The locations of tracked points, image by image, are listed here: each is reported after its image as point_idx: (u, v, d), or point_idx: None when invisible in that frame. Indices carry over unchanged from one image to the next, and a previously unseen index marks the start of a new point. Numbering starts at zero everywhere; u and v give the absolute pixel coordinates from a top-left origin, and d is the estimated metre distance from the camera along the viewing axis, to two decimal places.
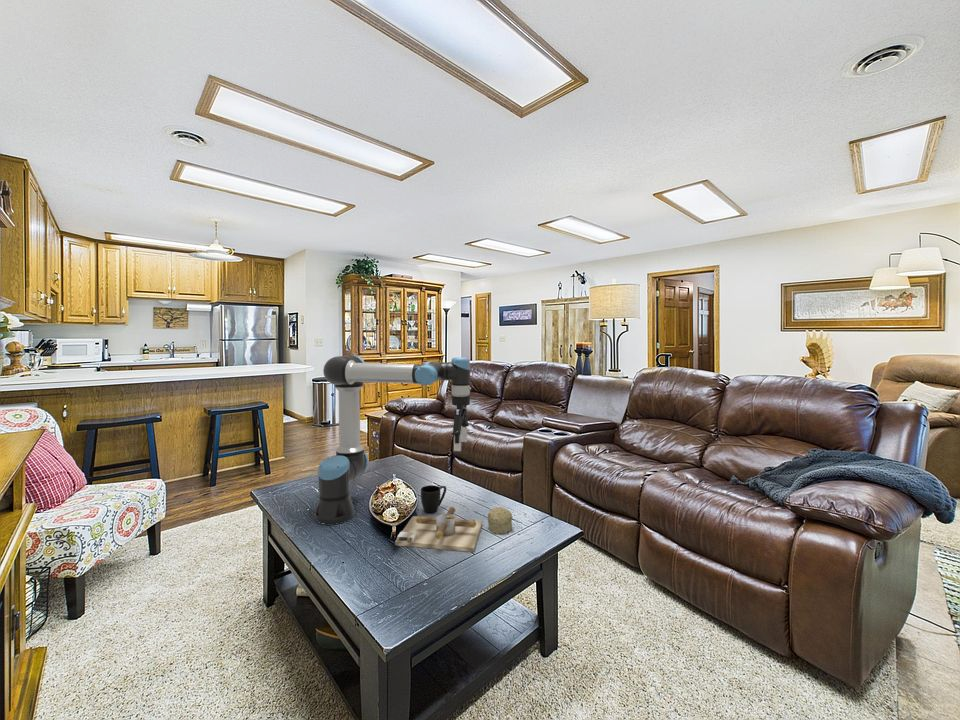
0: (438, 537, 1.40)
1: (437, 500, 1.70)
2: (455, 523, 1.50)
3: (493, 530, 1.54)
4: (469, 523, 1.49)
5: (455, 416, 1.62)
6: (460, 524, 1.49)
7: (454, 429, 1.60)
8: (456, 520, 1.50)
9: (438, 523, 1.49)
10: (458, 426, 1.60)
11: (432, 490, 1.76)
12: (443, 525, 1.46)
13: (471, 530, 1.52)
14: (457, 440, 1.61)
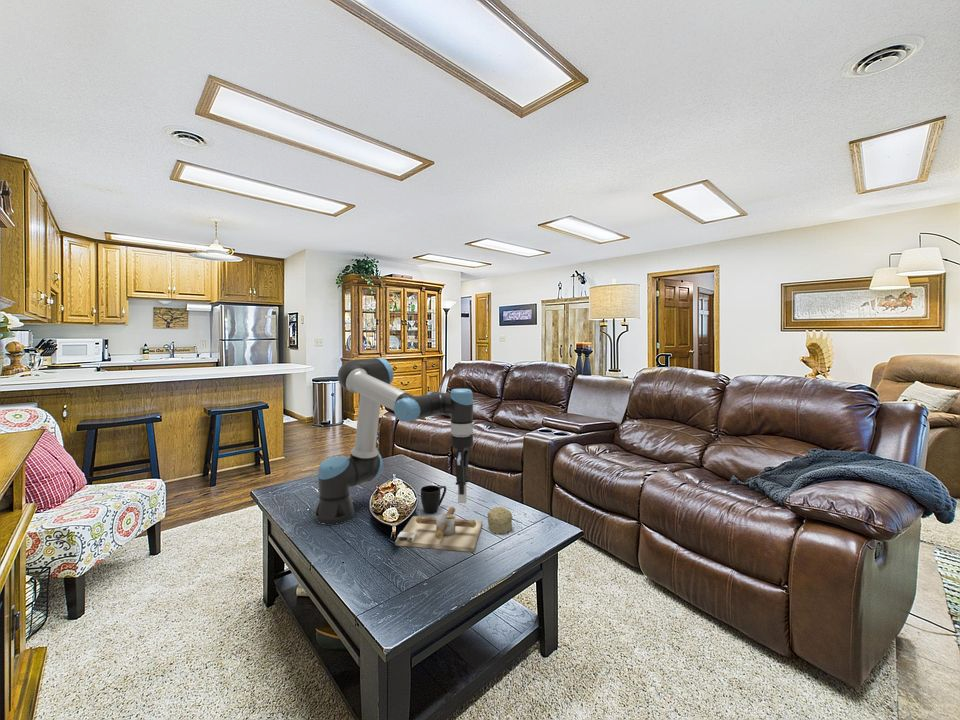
0: (438, 537, 1.40)
1: (437, 500, 1.70)
2: (455, 523, 1.50)
3: (493, 530, 1.54)
4: (469, 523, 1.49)
5: (456, 467, 1.35)
6: (460, 524, 1.49)
7: (458, 480, 1.37)
8: (456, 520, 1.50)
9: (438, 523, 1.49)
10: (462, 477, 1.36)
11: (432, 490, 1.76)
12: (443, 525, 1.46)
13: (471, 530, 1.52)
14: (462, 491, 1.39)
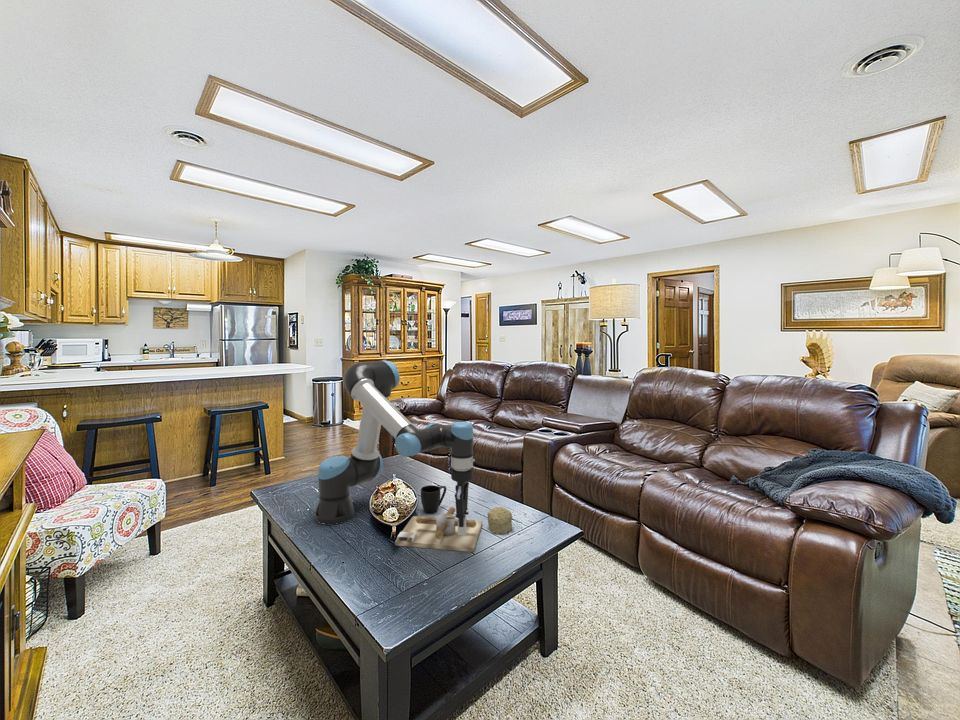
0: (438, 537, 1.40)
1: (437, 500, 1.70)
2: (455, 523, 1.50)
3: (493, 530, 1.54)
4: (469, 523, 1.49)
5: (456, 501, 1.37)
6: None
7: (457, 514, 1.38)
8: (456, 520, 1.50)
9: (438, 523, 1.49)
10: (461, 511, 1.38)
11: (432, 490, 1.76)
12: (443, 525, 1.46)
13: (471, 530, 1.52)
14: (461, 524, 1.41)
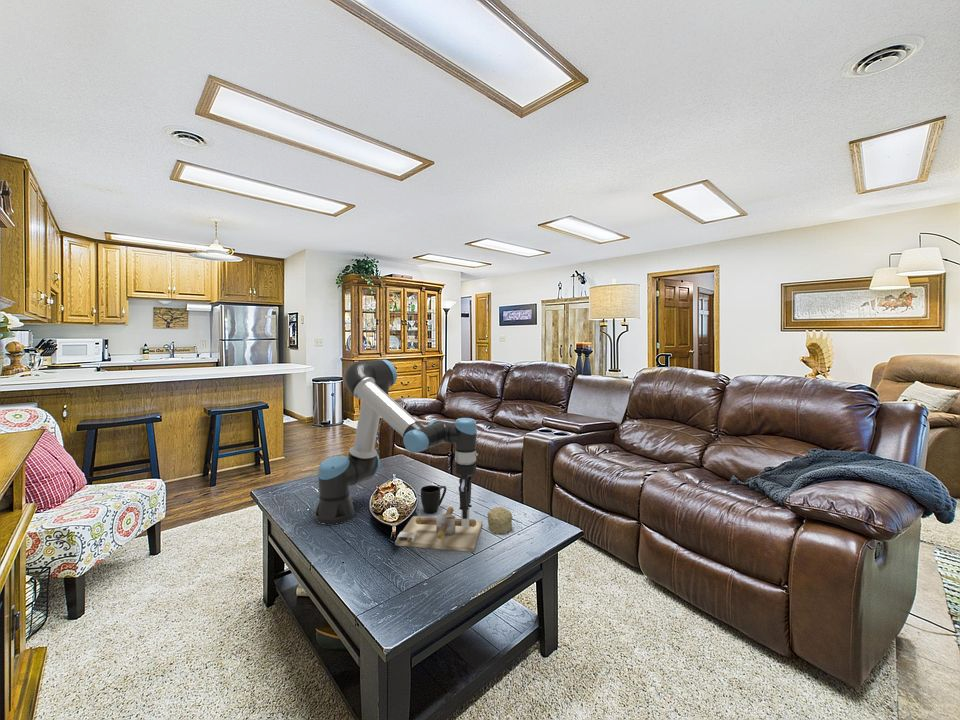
0: (440, 537, 1.40)
1: (437, 500, 1.70)
2: (455, 523, 1.50)
3: (493, 530, 1.54)
4: (469, 522, 1.49)
5: (460, 493, 1.43)
6: None
7: (461, 506, 1.45)
8: (456, 520, 1.51)
9: (438, 523, 1.49)
10: (465, 503, 1.44)
11: (432, 490, 1.76)
12: (444, 525, 1.46)
13: (471, 530, 1.52)
14: (465, 515, 1.47)
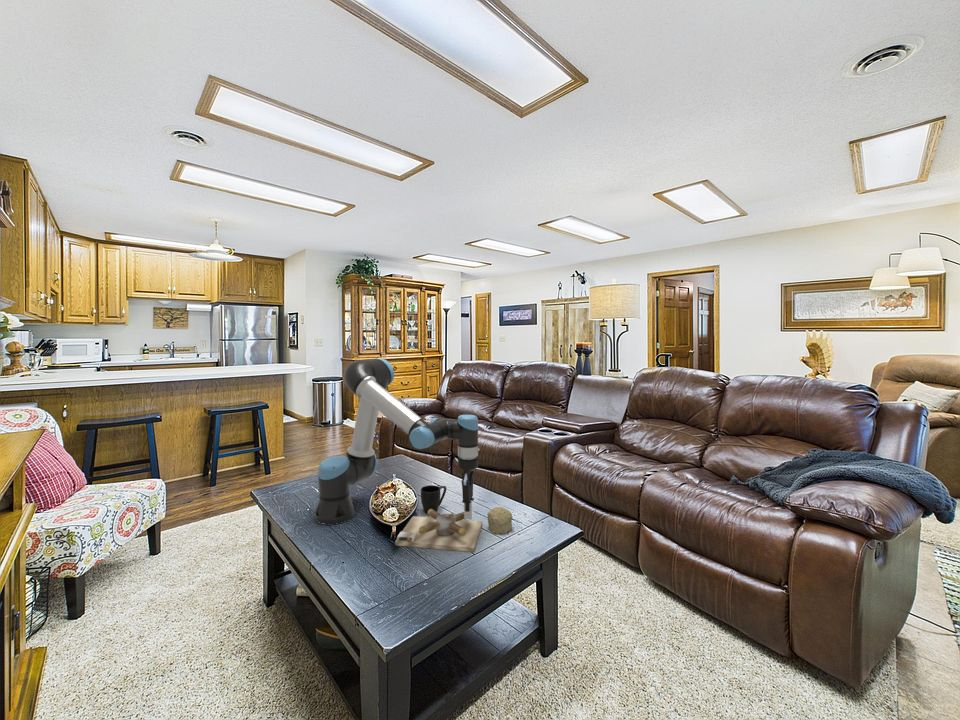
0: (464, 534, 1.43)
1: (437, 500, 1.70)
2: (455, 519, 1.53)
3: (493, 530, 1.54)
4: None
5: (463, 487, 1.49)
6: (459, 518, 1.54)
7: (464, 499, 1.50)
8: (455, 516, 1.54)
9: (445, 524, 1.48)
10: (468, 496, 1.50)
11: (432, 490, 1.76)
12: (454, 523, 1.48)
13: (471, 530, 1.52)
14: (467, 508, 1.53)
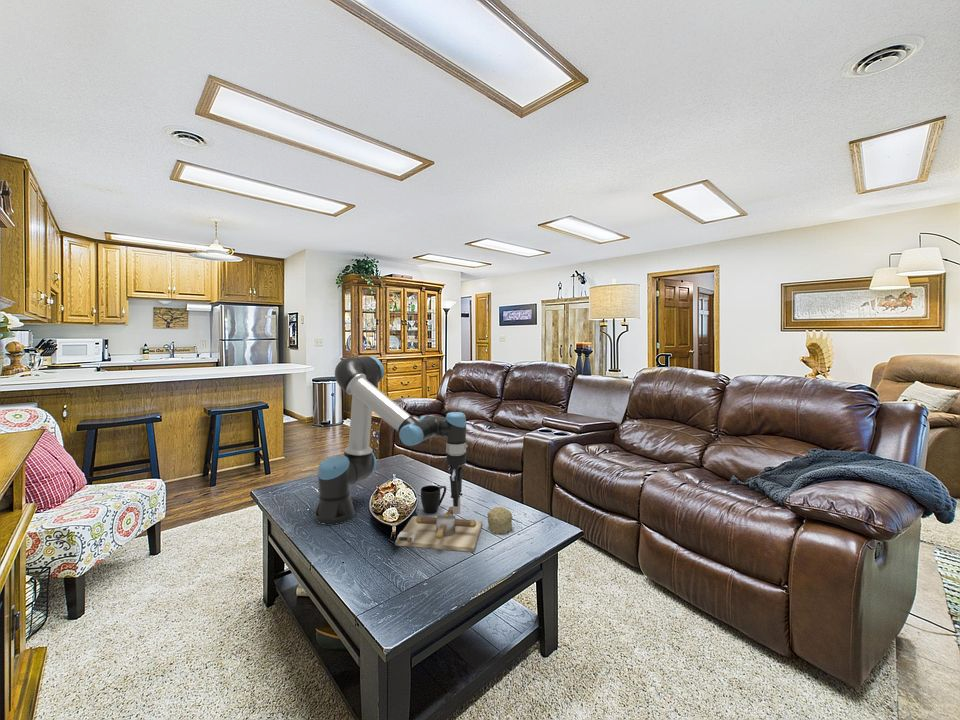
0: None
1: (437, 500, 1.70)
2: None
3: (493, 530, 1.54)
4: None
5: (451, 482, 1.53)
6: None
7: (452, 494, 1.55)
8: None
9: (452, 523, 1.49)
10: (456, 491, 1.54)
11: (432, 490, 1.76)
12: (458, 519, 1.51)
13: (471, 530, 1.52)
14: (456, 503, 1.57)
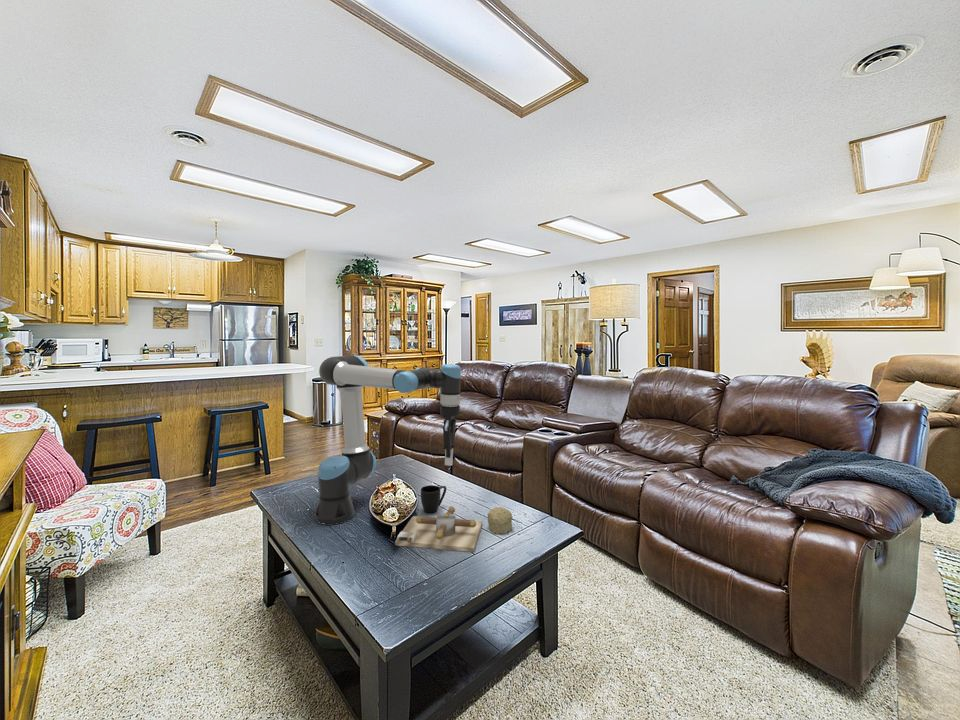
0: None
1: (437, 500, 1.70)
2: None
3: (493, 530, 1.54)
4: (453, 510, 1.60)
5: (444, 432, 1.54)
6: None
7: (445, 445, 1.55)
8: None
9: (452, 523, 1.49)
10: (448, 442, 1.55)
11: (432, 490, 1.76)
12: (458, 519, 1.51)
13: (471, 530, 1.52)
14: (448, 454, 1.57)
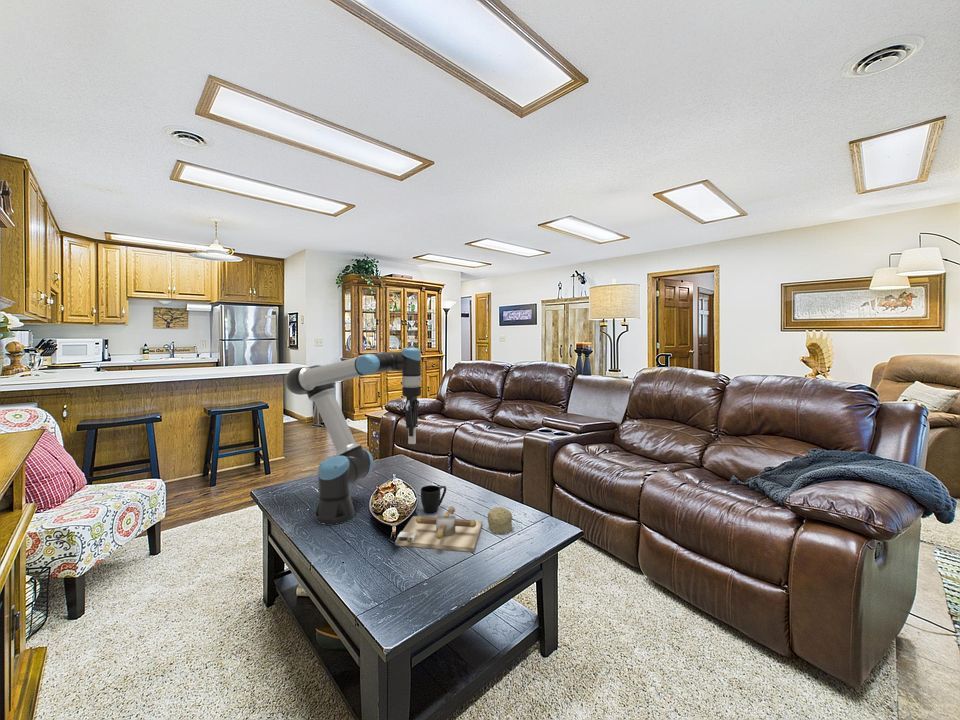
0: None
1: (437, 500, 1.70)
2: None
3: (493, 530, 1.54)
4: (453, 510, 1.60)
5: (405, 412, 1.62)
6: None
7: (407, 424, 1.64)
8: None
9: (452, 523, 1.49)
10: (410, 421, 1.63)
11: (432, 490, 1.76)
12: (458, 519, 1.51)
13: (471, 530, 1.52)
14: (411, 433, 1.66)
